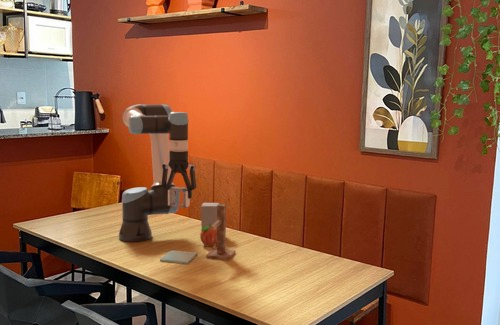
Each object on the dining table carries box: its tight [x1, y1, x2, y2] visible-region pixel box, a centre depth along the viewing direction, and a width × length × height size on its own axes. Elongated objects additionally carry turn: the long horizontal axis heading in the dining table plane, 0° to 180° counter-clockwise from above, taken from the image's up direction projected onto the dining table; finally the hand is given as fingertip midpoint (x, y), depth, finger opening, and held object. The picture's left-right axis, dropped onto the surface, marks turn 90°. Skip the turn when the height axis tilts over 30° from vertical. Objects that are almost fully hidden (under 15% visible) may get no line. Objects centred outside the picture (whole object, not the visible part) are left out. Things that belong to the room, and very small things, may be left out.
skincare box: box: [200, 202, 220, 229], centre depth 243 cm, size 8×7×16 cm
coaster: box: [159, 249, 198, 265], centre depth 212 cm, size 12×12×1 cm
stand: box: [205, 203, 236, 261], centre depth 211 cm, size 10×18×22 cm, turn 167°
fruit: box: [199, 224, 217, 247], centre depth 229 cm, size 9×10×10 cm
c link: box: [169, 186, 188, 209], centre depth 208 cm, size 7×3×8 cm, turn 77°
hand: (178, 205), depth 208 cm, fingers closed on c link, 7 cm apart
